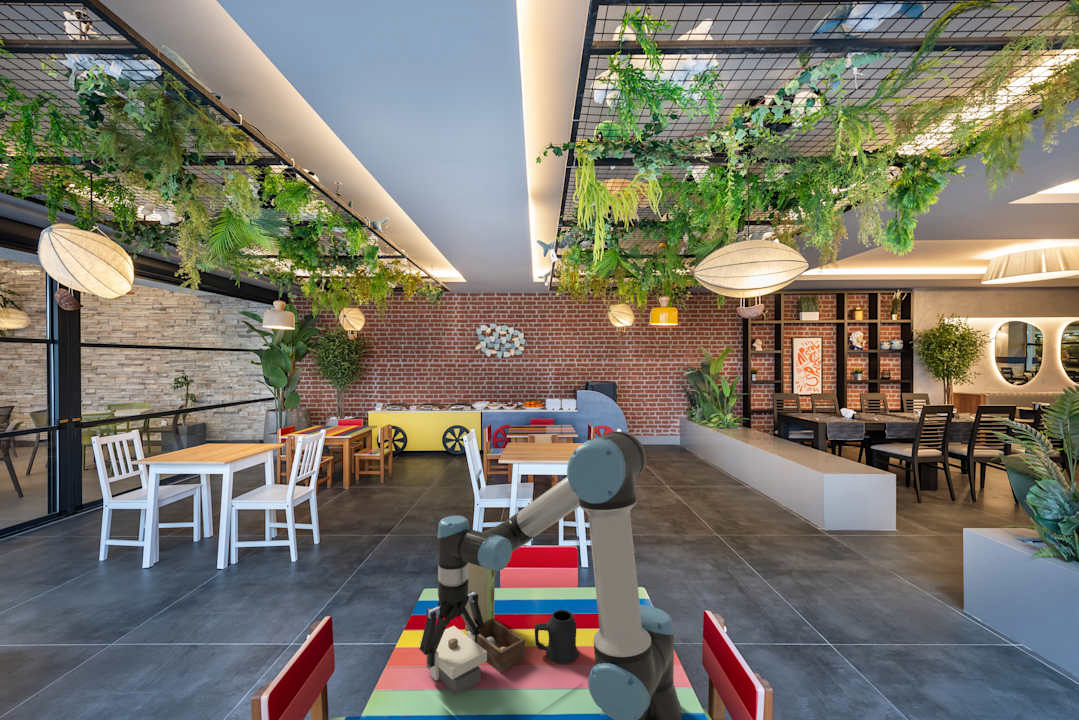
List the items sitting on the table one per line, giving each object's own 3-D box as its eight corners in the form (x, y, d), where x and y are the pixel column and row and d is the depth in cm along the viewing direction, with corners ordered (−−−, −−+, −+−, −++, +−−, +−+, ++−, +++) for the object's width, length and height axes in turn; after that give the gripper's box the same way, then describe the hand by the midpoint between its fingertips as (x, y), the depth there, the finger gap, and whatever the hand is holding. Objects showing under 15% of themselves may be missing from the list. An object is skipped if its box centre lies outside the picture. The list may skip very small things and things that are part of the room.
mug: (576, 645, 133) (577, 605, 132) (581, 667, 124) (581, 624, 123) (534, 646, 132) (534, 606, 132) (535, 668, 123) (535, 625, 123)
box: (524, 662, 125) (524, 639, 125) (500, 676, 120) (500, 652, 120) (492, 638, 136) (492, 618, 135) (469, 650, 130) (469, 628, 130)
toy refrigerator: (488, 636, 137) (489, 564, 136) (464, 633, 138) (464, 561, 138) (496, 621, 145) (497, 552, 144) (473, 618, 146) (474, 550, 146)
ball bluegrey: (497, 648, 130) (497, 637, 130) (488, 653, 128) (488, 642, 128) (490, 643, 132) (490, 632, 132) (482, 648, 130) (482, 637, 130)
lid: (486, 660, 117) (486, 646, 117) (452, 679, 111) (452, 664, 111) (453, 634, 128) (453, 621, 128) (420, 650, 122) (420, 636, 122)
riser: (480, 684, 117) (480, 668, 117) (456, 698, 112) (456, 681, 112) (450, 657, 127) (450, 642, 127) (426, 669, 122) (426, 653, 122)
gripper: (481, 561, 130) (481, 642, 130) (404, 589, 114) (404, 680, 115) (498, 571, 124) (497, 655, 124) (419, 601, 109) (420, 697, 109)
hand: (453, 667), depth 120 cm, fingers closed on lid, 10 cm apart
